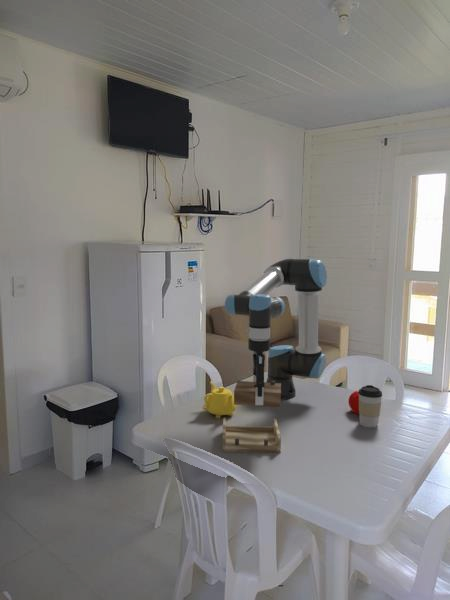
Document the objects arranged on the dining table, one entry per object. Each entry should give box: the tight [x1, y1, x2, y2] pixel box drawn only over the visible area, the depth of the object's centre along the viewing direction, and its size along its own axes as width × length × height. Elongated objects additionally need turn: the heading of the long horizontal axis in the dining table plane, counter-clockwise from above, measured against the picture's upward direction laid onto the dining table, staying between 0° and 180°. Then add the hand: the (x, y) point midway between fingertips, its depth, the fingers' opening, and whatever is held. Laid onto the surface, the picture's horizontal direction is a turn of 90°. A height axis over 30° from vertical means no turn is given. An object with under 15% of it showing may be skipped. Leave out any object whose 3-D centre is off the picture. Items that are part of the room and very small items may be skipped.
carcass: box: [221, 417, 282, 454], centre depth 162 cm, size 16×20×6 cm
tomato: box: [347, 390, 359, 416], centre depth 191 cm, size 11×12×9 cm
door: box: [233, 380, 282, 408], centre depth 160 cm, size 11×16×6 cm
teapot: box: [202, 380, 238, 419], centre depth 187 cm, size 20×15×12 cm
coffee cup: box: [358, 384, 383, 428], centre depth 178 cm, size 9×9×15 cm
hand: (257, 398), depth 160 cm, fingers closed on door, 11 cm apart
